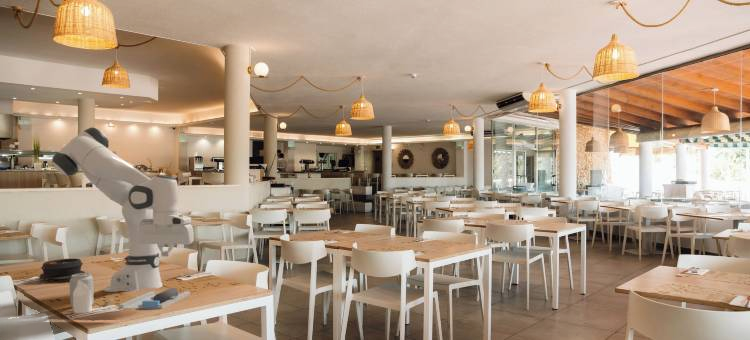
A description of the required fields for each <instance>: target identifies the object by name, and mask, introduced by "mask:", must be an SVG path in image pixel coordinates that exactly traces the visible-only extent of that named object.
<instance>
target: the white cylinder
mask: <svg viewBox="0 0 750 340" xmlns="http://www.w3.org/2000/svg"><path fill="white" fill-rule="evenodd" d="M72 309H73V313H74V314H83V313H85V314H86V313H89V312H92V311H93V304H92V297H91V290H90V289H89V287H88V286H87V285H86V284H85V283H83V282H82V281H80V280H78V283H77V286H76V289H75V290H74V292H73V308H72Z"/></svg>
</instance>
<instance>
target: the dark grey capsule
mask: <svg viewBox="0 0 750 340" xmlns="http://www.w3.org/2000/svg"><path fill="white" fill-rule="evenodd" d="M178 295H179V291H178V289H177V288H175V287H171V288H168V289H166V290H164V291H161V292H158V293H157V295H155V296H154V298H153V301H160V304H161V303H163V302H165V301H167V300H169V299H170V297H172V296H178Z"/></svg>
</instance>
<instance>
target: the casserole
mask: <svg viewBox="0 0 750 340" xmlns="http://www.w3.org/2000/svg"><path fill="white" fill-rule="evenodd" d="M83 264H84V263H83V262H82V260H81V259H80V258H62V259H61V258H60V259H55V260H49V261H44V262H43V263H42V266H41V267H40V269H41V270H42V272H43V273H40V274H39V277H38V279H41V280H47V281H49V280H53V281H52V282H59V281H58V280H63V281H68V280H67V279H69V280H70V279H71V278H72V275H74V274H80V273H86V272H85V271H84V270H82V266H83Z"/></svg>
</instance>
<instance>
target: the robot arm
mask: <svg viewBox="0 0 750 340" xmlns="http://www.w3.org/2000/svg"><path fill="white" fill-rule="evenodd" d="M109 144H110V142H109V139H108V137H107V135H106V134H105V133H104V132H103V131H101V129H98V128H96V127H94V126H93V127H92V126H91V127H89V128H87V129H85V130H83V131H82V132H81V133H79V134H77V136H75V137H74V138H72V139H71V140H70V141H69V142H68V143H66V144H65V145H64V146H63V147H61V149H60V150H59V151H57V152H56V153H55V154H54V155H53V156H52V159H51V161H52V163H53V166H54V168H55V169H56V170H57V171H58V172H60V173H61V174H62V175H66V176H68V177H69V176H71V177H72V176H74V175H75V174H77V173H79V171H81V173H83V175H84V176H85V178H86V179H87V180H88V181H89V183H92V185H94V186H95V188H97V189H98V190H99V191H100V192H101V193H103V194H104V195H105V196H106V197H107V198H108V199H109V200H110V201H113V202H115V203H117V204H118V205H120V206H121V207H122V208H121V215H122V216H123V218H124V222H125V226H126V230H127V231H126V232H127V237H128V255H127V256H126V257H123V262H125V264H124V265H123V266H122V267H120V269H118V270H117V271H116V272H115V273H113V275H111V278H110V285H108V286H107V287H105V288H104V292H106V293H108V292H109V293H116V292H119V291H124V292H126V291H127V292H135V291H141V290H149V289H160V288H162V287H164V285H163V283H162V278H161V274H160V256H161V257H165V258H166V257H169V258H170V257H172V250H173V249H174V247H175V245H184V246H186V245H191V244H193V242H194V240H195V237H194V235H195V233H194V228H193V225H192V217H191V216H187V215H185V214H181V213H180V212H179V206H178V202H179V186H178V180H177V179H176V178H175V177H174V176H171V175H167V174H166V175H165V174H156V175H154V176H153V177H150V176H149V175H147V174H146V173H145V172H143V171H142V170H140V169H139V168H137V167H135V166H134V165H132V164H130V163H129V162H127V161H125V160H124V159H123V158H121V157H120V156H118V155H117V154H116V153H114V152H113V151H112V150H110V149H109ZM165 245H167V251H166V250H165ZM158 250H159V251H160V254H159V252H158Z"/></svg>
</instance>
